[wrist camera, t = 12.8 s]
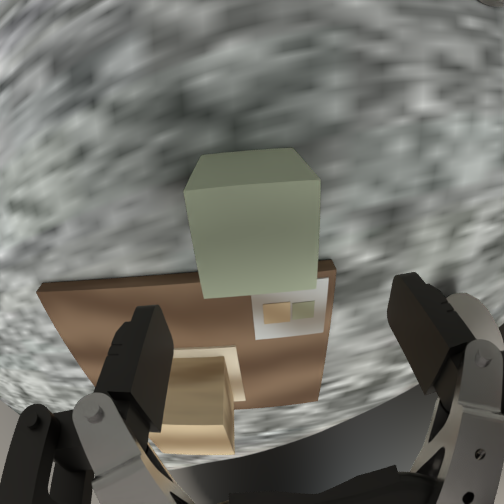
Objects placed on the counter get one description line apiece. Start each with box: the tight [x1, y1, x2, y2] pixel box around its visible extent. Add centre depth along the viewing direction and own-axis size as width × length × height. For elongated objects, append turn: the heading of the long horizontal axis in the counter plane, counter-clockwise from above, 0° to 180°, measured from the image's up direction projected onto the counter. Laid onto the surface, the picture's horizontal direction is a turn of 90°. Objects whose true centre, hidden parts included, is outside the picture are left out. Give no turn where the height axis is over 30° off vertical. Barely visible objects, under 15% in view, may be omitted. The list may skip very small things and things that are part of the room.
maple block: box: [149, 356, 235, 455], centre depth 21 cm, size 6×6×6 cm
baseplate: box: [36, 260, 336, 410], centre depth 23 cm, size 16×22×1 cm
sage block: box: [183, 148, 321, 299], centre depth 14 cm, size 5×5×6 cm
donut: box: [446, 293, 504, 351], centre depth 19 cm, size 10×4×10 cm, turn 26°
